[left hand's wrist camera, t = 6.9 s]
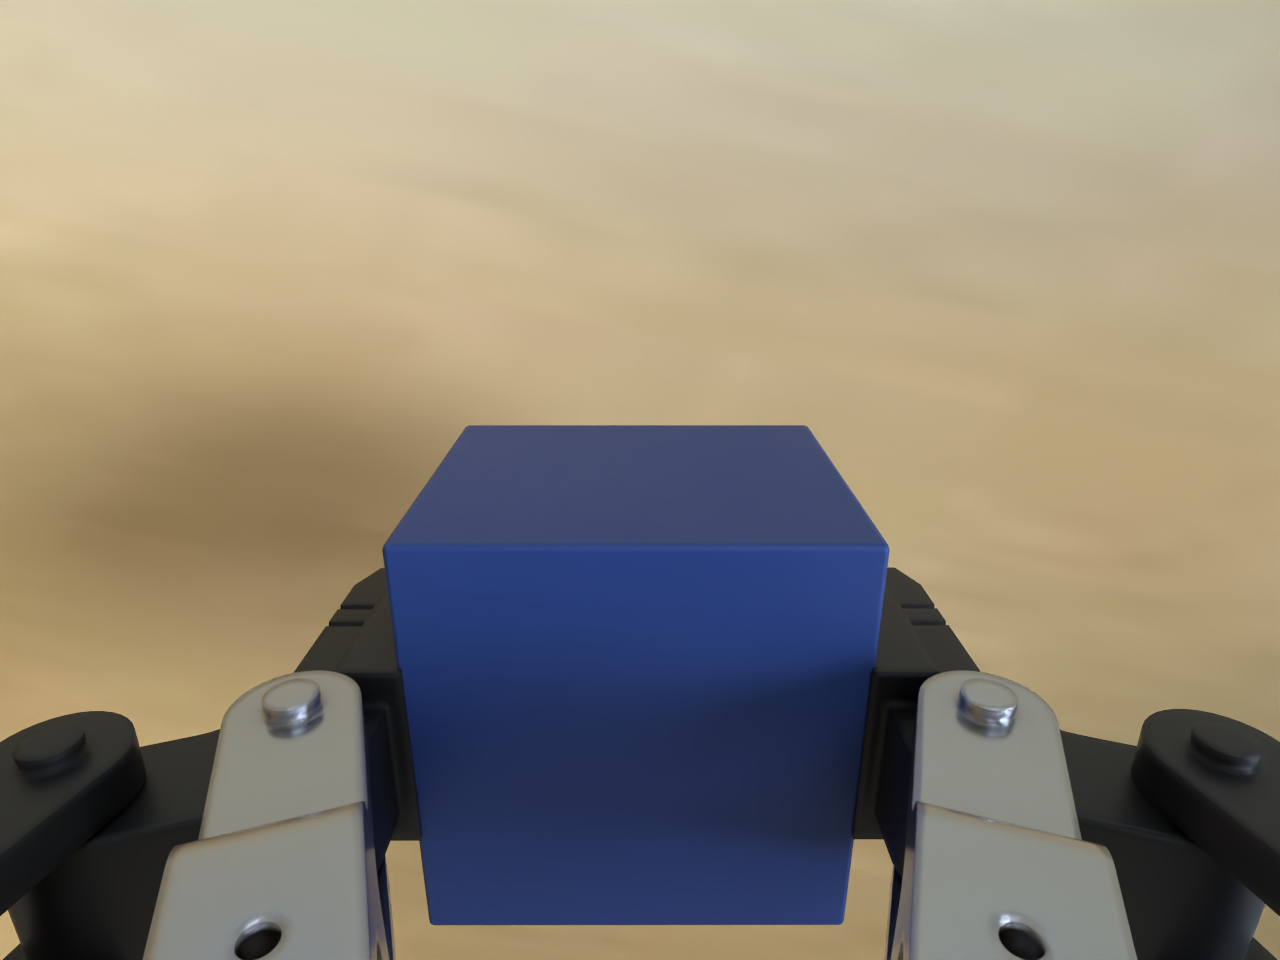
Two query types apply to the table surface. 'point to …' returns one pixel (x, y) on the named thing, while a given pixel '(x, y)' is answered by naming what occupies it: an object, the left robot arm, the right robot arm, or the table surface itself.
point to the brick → (636, 674)
